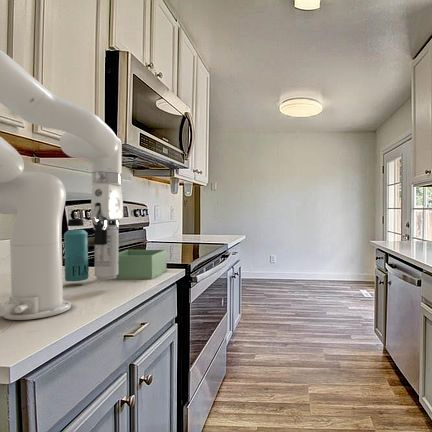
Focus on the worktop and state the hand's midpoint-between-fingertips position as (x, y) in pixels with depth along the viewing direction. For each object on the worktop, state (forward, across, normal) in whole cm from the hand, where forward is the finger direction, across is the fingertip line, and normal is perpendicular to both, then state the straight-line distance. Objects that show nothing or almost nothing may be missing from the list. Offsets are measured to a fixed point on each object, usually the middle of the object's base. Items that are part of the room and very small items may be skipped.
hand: (106, 242), depth 101 cm
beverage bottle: (+14, +8, +13) cm, 20 cm away
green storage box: (+13, +23, 0) cm, 26 cm away
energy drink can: (+10, 0, 0) cm, 10 cm away
